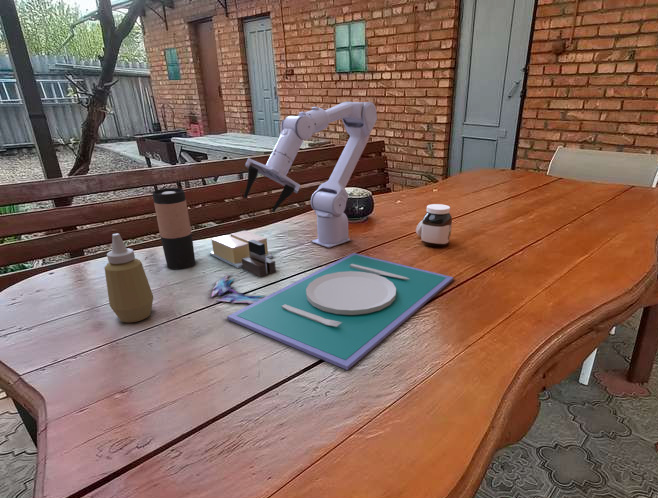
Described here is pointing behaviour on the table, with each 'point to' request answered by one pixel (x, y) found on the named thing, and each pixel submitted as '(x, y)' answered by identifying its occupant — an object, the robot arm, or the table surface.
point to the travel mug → (174, 227)
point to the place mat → (343, 307)
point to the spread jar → (435, 226)
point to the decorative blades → (224, 288)
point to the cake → (236, 247)
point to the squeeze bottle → (127, 283)
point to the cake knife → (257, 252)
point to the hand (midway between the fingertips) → (259, 204)
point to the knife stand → (258, 266)
